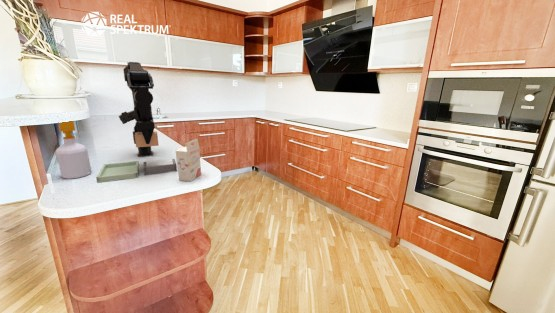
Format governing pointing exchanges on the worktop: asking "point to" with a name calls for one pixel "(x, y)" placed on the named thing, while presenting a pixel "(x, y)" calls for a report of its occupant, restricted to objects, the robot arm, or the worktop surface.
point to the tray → (118, 171)
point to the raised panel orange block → (141, 141)
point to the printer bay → (159, 168)
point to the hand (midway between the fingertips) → (147, 142)
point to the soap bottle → (72, 154)
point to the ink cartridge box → (188, 161)
